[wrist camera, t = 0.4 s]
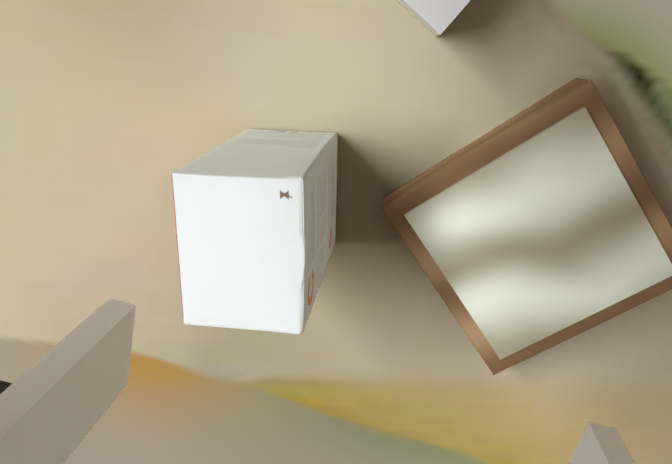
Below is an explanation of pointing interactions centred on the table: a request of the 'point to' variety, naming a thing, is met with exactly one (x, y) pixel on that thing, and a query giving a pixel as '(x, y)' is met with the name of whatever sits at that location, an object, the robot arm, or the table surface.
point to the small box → (256, 229)
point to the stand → (537, 228)
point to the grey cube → (435, 12)
